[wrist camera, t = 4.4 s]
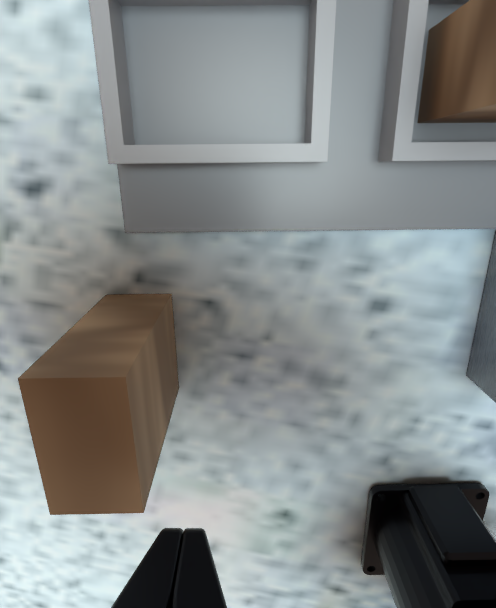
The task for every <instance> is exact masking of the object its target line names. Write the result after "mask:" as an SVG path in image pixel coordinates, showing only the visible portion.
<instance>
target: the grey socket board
mask: <svg viewBox="0 0 496 608" xmlns="http://www.w3.org/2000/svg"><path fill="white" fill-rule="evenodd" d="M468 1H469V0H89V7H90V15H91V24H92V32H93V40H94V48H95V57H96V65H97V73H98V81H99V89H100V98H101V106H102V114H103V122H104V131H105V139H106V147H107V155H108V163H109V164H117V166H118V175H119V184H120V193H121V201H122V210H123V219H124V227H125V233H135V232H225V231H315V230H405V229H495V228H496V123H417V122H418V114H419V106H420V98H421V90H422V82H423V74H424V66H425V58H426V50H427V42H428V35H429V30H430V29H431V28H432V27H434V26H435V25H436V24H438V23H439V22H441V21H442V20H443V19H445V18H446V17H447V16H449V15H450V14H452V13H453V12H454V11H456V10H457V9H458V8H460V7H461V6H463V5H464V4H465V3H467V2H468Z"/></svg>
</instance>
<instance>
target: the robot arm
mask: <svg viewBox="0 0 496 608" xmlns="http://www.w3.org/2000/svg"><path fill="white" fill-rule="evenodd" d="M380 494H381V495H380ZM378 495H379V496H378ZM488 499H489V492H488V490H487V489H486V488H485V486H484V485H482V484H480V483H463V484H407V485H377V486H374V487H373V488H372V489H371V490H370V494H369V502H368V510H367V518H366V526H365V534H364V542H363V551H362V559H361V565H362V569H363V572H364V573H365V574H367V575H385V576H386V579H387V582H388V584H389V587H390V590H391V593H392V596H393V599H394V602H395V604H396V607H397V608H496V540H495V539H494V537H493V536H492V534H491V533H490V531H489V530H488V528H487V527H486V525H485V524H484V523H483V518H484V514H485V510H486V506H487V502H488ZM111 608H227V606H226V602H225V599H224V595H223V592H222V588H221V585H220V581H219V578H218V574H217V571H216V568H215V564H214V561H213V557H212V554H211V550H210V547H209V543H208V540H207V536H206V533H205V531H204V529H202V528H187V529H185V530H184V532H183V530H182V529H180V528H165V529H163V530H162V531H161V532H160V533H159V535H158V536H157V538H156V539H155V541H154V543H153V544H152V546H151V547H150V549H149V550H148V552H147V553H146V555H145V556H144V558H143V559H142V561H141V563H140V564H139V566H138V567H137V569H136V570H135V572H134V573H133V575H132V576H131V578H130V580H129V581H128V583H127V584H126V586H125V587H124V589H123V590H122V592H121V593H120V595H119V596H118V598H117V600H116V601H115V603H114V604H113V606H112V607H111Z"/></svg>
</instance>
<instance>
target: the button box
mask: <svg viewBox="0 0 496 608" xmlns="http://www.w3.org/2000/svg"><path fill="white" fill-rule="evenodd" d="M467 376H468V377H469V378H470V379H471V380H472V381H473V382H474V383H475V384H476V385H477V386H478V387H480V388H481V389H482V390H483V391H484V392H485V393H486V394H487V395H488V396H489V397H490V398H491V399H492V400H493V401H495V402H496V233H495V238H494V243H493V248H492V253H491V257H490V262H489V267H488V272H487V277H486V282H485V287H484V292H483V297H482V302H481V306H480V311H479V316H478V321H477V326H476V331H475V336H474V341H473V346H472V350H471V355H470V360H469V365H468V370H467Z"/></svg>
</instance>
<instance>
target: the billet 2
mask: <svg viewBox="0 0 496 608" xmlns="http://www.w3.org/2000/svg"><path fill="white" fill-rule="evenodd" d="M417 123H496V0H469V1H468V2H467V3H465V4H464V5H463V6H461V7H460V8H458V9H457V10H456V11H454V12H453V13H452V14H450V15H449V16H447V17H446V18H445V19H443V20H442V21H441V22H439V23H438V24H436V25H435V26H434V27H432V28H431V29H430V30H429V35H428V42H427V50H426V58H425V66H424V74H423V82H422V90H421V98H420V106H419V114H418V122H417Z"/></svg>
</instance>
